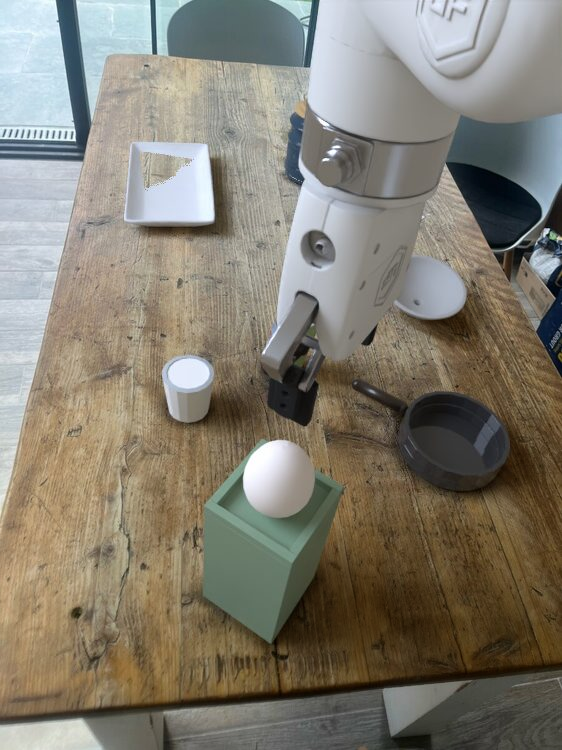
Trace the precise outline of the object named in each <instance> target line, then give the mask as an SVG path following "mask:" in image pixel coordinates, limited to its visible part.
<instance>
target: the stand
mask: <svg viewBox="0 0 562 750" xmlns="http://www.w3.org/2000/svg"><path fill="white" fill-rule="evenodd" d="M268 442H269V441H268V440H266V439H264V438H263V437H262V438H261V439H260V440H259V441H258V442H257V444H256V445H255V446H254V447H253V448H252V449H251V451H250V452H249V453H248V454H247V455H246V457H244V459H243V460H242V461H241V462H240V463H239V465H238V466H237V467H236V468H235V469H234V470H233V471H232V473H231V474H230V475H229V476H227V479H225V481H224V482H223V483H222V484H221V485H220V486H219V487H218V489H217V490H216V491H215V492H214V494H212V495H211V497H210V498H209V499H208V500H207V501H206V503H204V505H203V557H202V559H203V561H202V562H203V563H202V565H203V566H202V596H203V597H204V598H205V599H207V600H208V601H210V602H211V603H212V604H214V605H215V606H217V607H218V608H219V609H221V610H222V611H223V612H225V613H226V614H227V615H229V616H231V617H232V618H233V619H234V620H237V621H238V622H239V623H241V624H242V625H243V626H245V627H246V628H248V630H250V631H252V632H253V633H254V634H256V635H258V636H259V637H260V638H262V639H263V640H265V642H267V643H268V644H271V645H272V644H273V643H274V641H275V639H276V638H277V636H278V634H279V633H280V631H281V630H282V629H283V627H284V625H285V624H286V622H287V621H288V619H289V617H290V616H291V614H292V613H293V611H294V610H295V607H297V605H298V603H299V602H300V600H301V598H302V597H303V595H304V594H305V592H306V590H307V589H308V587H309V585H310V584H311V582H312V581H313V579H314V578H315V575H316V573H317V570H318V566H319V564H320V560H321V557H322V554H323V552H324V548H325V545H326V544H327V543H326V542H327V539H328V537H329V534H330V531H331V527H332V525H333V521H334V519H335V515H336V513H337V510H338V507H339V504H340V501H341V498H342V495H343V493H344V489H345V486H344V485H343V484H342V483H339V482H338V481H336V480H334V479H332V478H331V477H329V476H328V475H326V474H324V473H322V472H321V471H319V470H317V469H315V468H314V475H315V483H314V488H313V492H312V495H311V497H310V499H309V501H308V503H307V504H306V505H305V506H304V507H303V508H302V509H301V510H300V511H299V512H297V513H296V514H294V515H291V516H289V517H284V518H273V517H268V516H265V515H263V514H261V513H260V512H258V511H257V510H256V509H255V508H254V507H253V506H252V505H251V504H250V502H249V501H248V499H247V497H246V494H245V491H244V486H243V475H244V470H245V467H246V465H247V463H248V461H249V459H250V457H251V455H252V454H253V453H254V452H255V451H256V450H257V449H259V448H260V447H261V446H262V445H264V444H266V443H268Z"/></svg>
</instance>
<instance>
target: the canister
mask: <svg viewBox="0 0 562 750" xmlns="http://www.w3.org/2000/svg"><path fill="white" fill-rule="evenodd" d="M306 102H307V98H305V99H303V100H301V101H299V102H298V103H296V105H295V106H294V112H292V114H290V116H289V124H290V125H291V127H290V129H289V130H288V133H287V138H288V139H287V145H286V156H285V158H284V173H285V175H286V177H287V178H289V180H291V182H294V183H295V184H298V185H300V186H302V184H303V182H304V180H305V178H304V177H303V175H302V174H301V172H300V169H299V155H300V148H301V141H302V133H303V125H304V118H305V110H306ZM285 169H286V170H285ZM286 171H287V172H286ZM289 174H290V175H291V176H292V177H294V178H296V179H297V180H296V179H294V178H292V177H291V176H290V175H289ZM298 180H300V181H298ZM301 181H302V182H301Z"/></svg>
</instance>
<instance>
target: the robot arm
mask: <svg viewBox="0 0 562 750" xmlns="http://www.w3.org/2000/svg"><path fill="white" fill-rule="evenodd" d="M313 40H314V42H313V48H312V56H311V63H310V64H311V65H310V71H309V72H310V73H309V79H308V88H307V97H306V99H307V102H306V110H305V118H304V125H303V133H302V141H301V148H300V155H299V169H300V172H301V174H302V175H303V177H304V178H305V180H304V182H303V184H302V185H301V188H300V191H299V195H298V200H297V202H296V207H295V211H294V215H293V219H292V223H291V227H290V231H289V237H288V241H287V245H286V249H285V250H286V251H285V256H284V260H283V265H282V270H281V277H280V283H279V290H278V297H277V307H276V308H277V309H276V316H277V326H278V328H277V329H276V331H275V333H274V334H273V336H272V337H271V339H270V341H269V342H268V341H267V342H268V344H267V343H266V344H267V345H265V347H264V349H263V350H262V352H261V353H260V354H261V355H260V357H259V363H260V366H261V365H262V367H263V369H264V372H263V375H264V376H267V377H268V378H269V377H270V378H269V383H268V392H267V400H266V405H267V407H268V408H269V409H270V410H272V411H274V412H275V413H276V414H278V415H279V416H280V417H282V418H284V419H286V420H290V421H292V422H294V423H296V424H297V425H299V426H301V427H303V428H304V427H307V426H308V425H310V423H311V422H312V419H313V415H314V409H315V405H316V401H317V396H318V391H319V387H320V383H319V382H318V381H317V380H316V378H317V376H318V374H319V372H320V370H321V368H322V365H323V363H324V361H325V360H326V358H327V359H330V360H332V361H333V362H342V361H344V360H346V359H348V358H350V357H351V356H352V355H353V354H354V353H355V352H356V351H357V350H358V348H359V347H360V346H361V345H362V346H365V347H368V346H370V345H372V343H373V342H374V340H375V337H376V333H377V329H378V326H379V322H380V321H381V320H382V319H383V317H384V316H385V315H386V313H387V312H388V311H389V310H390V309H391V308H392V305H393V304H394V301H395V300H396V299H397V297H398V295H399V294H400V292H401V290H402V288H403V285H404V282H405V279H406V275H407V272H408V268H409V264H410V261H411V257H412V254H413V253H414V249H415V245H416V241H417V238H418V233H419V229H420V226H421V223H422V218H423V214H424V211H425V206H426V202H428V200H430V199H431V198H432V197H433V196H434V195H435V194H436V192H437V190H438V187H439V184H440V181H441V177H442V175H443V172H444V169H445V165H446V162H447V159H448V157H449V153H450V150H451V147H452V144H453V142H454V141H453V140H454V138H455V136H456V135H455V134H456V131H457V128H458V125H459V122H460V119H461V116H463V117H466V118H468V119H469V120H473V121H477V122H484V123H488V124H514V123H521V122H522V123H523V122H528V121H534V120H537V119H538V120H539V119H543V118H547V117H551V116H555V115H559V114H560V115H561V114H562V0H319V2H318V10H317V17H316V26H315V33H314V39H313ZM312 323H313V324H315V329H316V337H312V336H310V335H308V334H306V333H307V331H308V330H309V328H310V327H311V325H312ZM300 343H301V344H303V345H305V346H307V347H309V348H310V349H312V350H313V352H312V353H311V356H310V358H309V361H308V362H307V365H306V366H305V368H304V367H302V368H301V367H299V366H297V365H295V364H293V355H294V353H295V351H296V349H297V348H298V346H299V344H300Z"/></svg>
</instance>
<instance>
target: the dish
mask: <svg viewBox="0 0 562 750" xmlns="http://www.w3.org/2000/svg"><path fill="white" fill-rule="evenodd" d="M467 294H468V291H467V287H466V283H465V281H464V280H463V279H462V277H461V275H460V274H459V273H458V272H457V271H456V270H455V269H454V268H453V267H452V266H450V265H449V264H447V263H446V262H445V261H442V260H440V259H438V258H435V257H433V256H429V255H425V254H416V253H415V254H413V253H412V257H411V261H410V264H409V268H408V272H407V275H406V279H405V282H404V285H403V288H402V290H401V292H400V294H399V295H398V297H397V299H396V300H395V301H394V303H393V304H394V305H395V306H396V307H397V308H398V309H399V310H400V311H402V312H403V313H404V314H406V315H408V316H410V317H413V318H415V319H419V320H423V321H432V320H434V321H435V320H436V321H437V320H445V319H449V318H451V317H453V316H455V315H457V314H458V313H459V312H460V311H461V310H462V309H463V308H464V306H465V304H466V301H467Z"/></svg>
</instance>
